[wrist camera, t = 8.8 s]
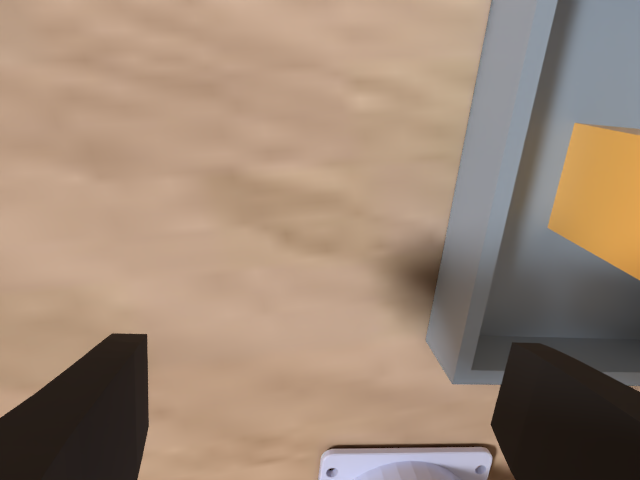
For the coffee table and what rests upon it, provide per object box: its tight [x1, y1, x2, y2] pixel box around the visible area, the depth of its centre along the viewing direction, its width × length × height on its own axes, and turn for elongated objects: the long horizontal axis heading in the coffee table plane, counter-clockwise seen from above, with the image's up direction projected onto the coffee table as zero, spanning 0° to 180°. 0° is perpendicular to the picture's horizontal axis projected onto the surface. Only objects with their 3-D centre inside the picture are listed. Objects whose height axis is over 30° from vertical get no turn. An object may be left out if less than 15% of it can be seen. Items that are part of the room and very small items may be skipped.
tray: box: [426, 0, 640, 386], centre depth 18 cm, size 15×10×3 cm
